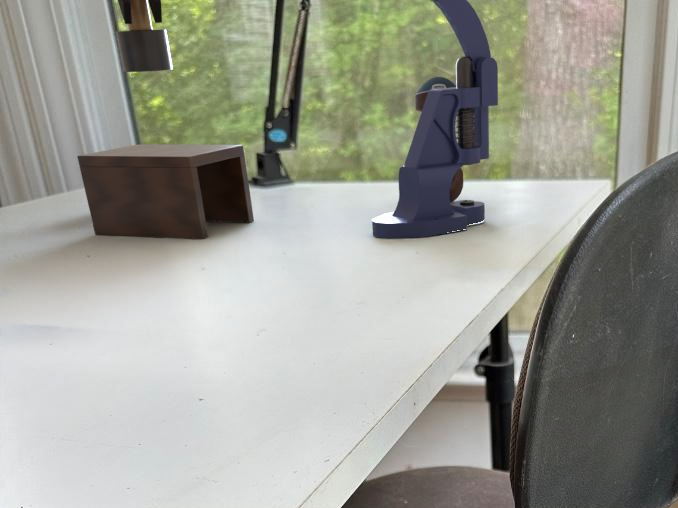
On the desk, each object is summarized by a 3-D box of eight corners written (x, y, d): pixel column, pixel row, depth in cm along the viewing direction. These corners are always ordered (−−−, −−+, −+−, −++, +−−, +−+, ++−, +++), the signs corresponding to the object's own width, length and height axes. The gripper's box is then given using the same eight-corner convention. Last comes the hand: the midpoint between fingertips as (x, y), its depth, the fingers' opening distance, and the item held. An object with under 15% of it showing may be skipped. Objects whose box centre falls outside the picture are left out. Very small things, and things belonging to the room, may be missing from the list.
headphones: (419, 183, 134) (419, 225, 117) (414, 66, 125) (413, 93, 107) (461, 181, 134) (466, 224, 117) (459, 65, 125) (465, 92, 107)
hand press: (469, 214, 117) (464, -51, 102) (511, 222, 111) (512, -58, 96) (343, 234, 108) (317, -53, 93) (380, 244, 102) (359, -61, 87)
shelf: (95, 234, 113) (76, 155, 108) (152, 217, 123) (138, 144, 118) (203, 239, 108) (188, 156, 103) (254, 221, 118) (243, 144, 113)
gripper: (10, -194, 97) (64, -16, 93) (157, -188, 102) (214, -19, 99) (22, -124, 104) (73, 44, 100) (159, -122, 109) (212, 38, 106)
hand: (142, 12), depth 99 cm, fingers closed on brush, 3 cm apart
